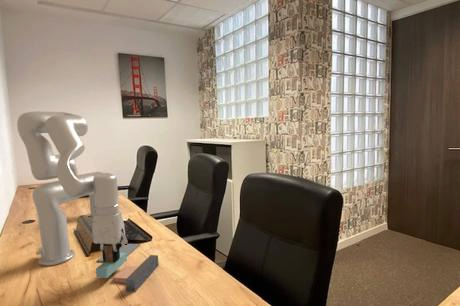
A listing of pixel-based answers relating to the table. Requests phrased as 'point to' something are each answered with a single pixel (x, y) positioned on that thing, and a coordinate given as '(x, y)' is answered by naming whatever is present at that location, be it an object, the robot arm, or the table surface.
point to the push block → (109, 262)
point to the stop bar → (141, 273)
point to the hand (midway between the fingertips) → (111, 259)
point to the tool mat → (124, 250)
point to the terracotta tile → (124, 274)
